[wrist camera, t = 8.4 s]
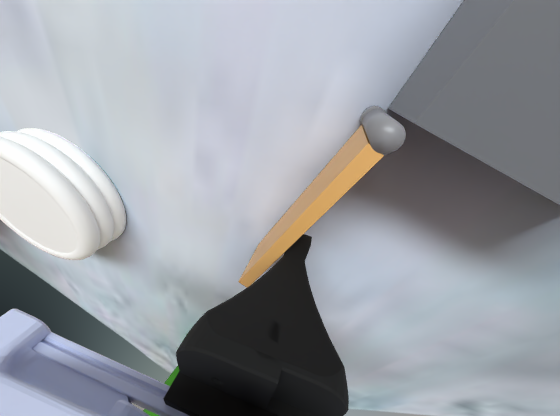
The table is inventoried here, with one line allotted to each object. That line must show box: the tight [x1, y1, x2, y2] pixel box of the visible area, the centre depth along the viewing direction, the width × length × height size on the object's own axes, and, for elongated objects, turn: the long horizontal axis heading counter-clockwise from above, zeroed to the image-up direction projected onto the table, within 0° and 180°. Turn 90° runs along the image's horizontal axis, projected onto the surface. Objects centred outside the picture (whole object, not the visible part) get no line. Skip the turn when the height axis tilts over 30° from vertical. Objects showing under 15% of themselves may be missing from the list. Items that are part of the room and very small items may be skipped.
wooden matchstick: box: [239, 109, 406, 288], centre depth 10 cm, size 10×1×3 cm, turn 147°
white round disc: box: [0, 128, 126, 260], centre depth 16 cm, size 10×10×4 cm
